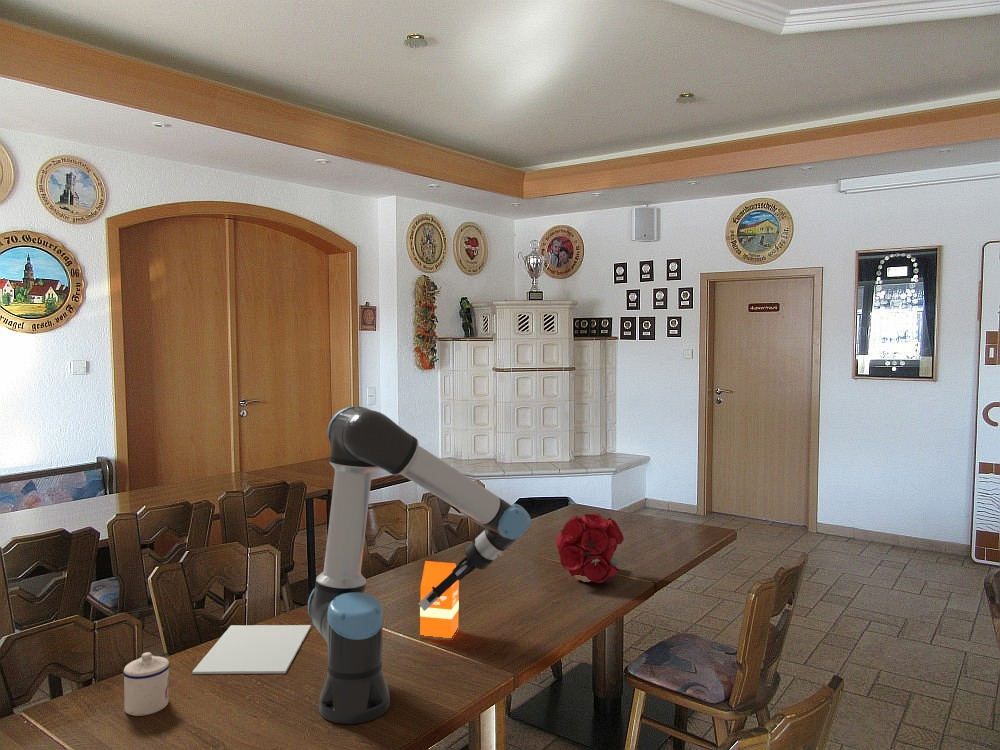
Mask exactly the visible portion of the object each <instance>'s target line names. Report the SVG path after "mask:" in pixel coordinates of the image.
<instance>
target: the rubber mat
mask: <svg viewBox="0 0 1000 750" xmlns="http://www.w3.org/2000/svg"><path fill="white" fill-rule="evenodd" d="M311 628H312V625H311V624H297V625H296V624H294V625H293V624H292V625H291V624H290V625H288V624H280V625H279V624H276V625H275V624H271V625H269V624H266V625H265V624H263V625H262V624H261V625H260V624H259V625H256V624H255V625H253V624H252V625H251V624H250V625H245V624H244V625H242V624H241V625H236V624H235V625H232V624H231V625H230V626H229V627H228V628H227V630H226V631H225V632H224V633H223V634H222V635H221V636H220V637H219V639H218V640H217V642H215V644H214V645H213V646H212V647H211V648H210V650H209V651H208V652H207V654H205V656H204V657H203V658H202V659H201V660H200V662H199V663H198V664H197V665H196V666H195V668H194V669H193V670H192V672H191V674H192V675H229V674H230V675H233V674H234V675H236V674H237V675H242V674H243V675H244V674H245V675H246V674H247V675H249V674H250V675H251V674H253V675H254V674H255V675H259V674H260V675H261V674H264V675H265V674H267V675H269V674H281V675H282V674H286V673H287V672H288V670H289V668H290V666H291V664H292V662H293V661H294V659H295V656H296V655H297V653H298V652H299V649H300V648H301V646H302V645H303V643H302V642H304V641H305V639H306V637H307V635H308V633H309V632H310V629H311Z"/></svg>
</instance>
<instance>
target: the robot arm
mask: <svg viewBox="0 0 1000 750" xmlns="http://www.w3.org/2000/svg"><path fill="white" fill-rule="evenodd" d="M329 421H330V422H329V423H328V426H327V436H328V437H327V438H328V441H329V444H330V446H331V447H330V452H329V453H330V454H329V464H330V465H331V466H332V468H333V469H334V477H333V485H332V492H331V493H332V494H331V502H330V503H331V504H330V512H329V523H328V529H327V536H326V537H327V539H326V545H325V547H326V548H325V556H324V564H323V565H324V566H323V571H322V572H320V573H319V574H318V575H317V576H316V578H315V587H314V588H313V589H312V591H311V593H310V595H309V597H308V600H307V612H308V616H309V619H310V622H311V623H312V625H313V627H315V629H316V631H317V632H319V634H320V635H321V637H322V638H323V640H324V641H325V643H326V644H327V674H326V678H325V681H324V684H323V687H322V691H321V693H320V697H319V704H318V705H319V706H318V709H319V714H320V716H321V717H323V718H324V719H325V720H327V721H330V722H332V723H336V724H340V725H354V724H355V725H356V724H362V723H366V722H367V723H368V722H370V721H373V720H376V719H378V718H380V717H382V715H384V714H385V713H387V711H388V710H389V708H390V706H391V705H390V703H391V700H390V699H391V696H390V695H391V694H390V689H389V688H388V684H387V681H386V678H385V676H384V675H385V674H384V672H383V625H384V614H383V606H382V603H381V602H380V600H379V599H377V598H376V597H375V596H374V595H372V594H366V586H367V580H366V578H365V577H364V576H363V574H362V573H361V572H362V564H363V554H364V546H365V538H366V536H365V535H366V527H367V519H368V511H369V501H370V494H371V493H370V492H371V487H372V486H371V485H372V475H373V473H374V472H375V471H376V470H378V469H382V470H384V471H386V472H387V473H389V474H390V475H392V476H400V475H401V476H403V477H404V478H406V479H408V480H409V481H411V482H413V483H414V484H416V485H418V486H420V487H421V488H422V489H424V490H426V491H427V492H430V493H431V494H432V495H434V496H436V497H437V498H439V499H441V500H443V501H444V502H445V503H447V504H449V505H450V506H452V507H454V508H455V509H457V510H458V511H459V513H460V514H462V515H463V516H465V517H466V519H469V520H471V521H472V522H474V523H476V524H477V525H478V526H480V527H482V528H484V529H483V531H482V532H481V533H480V534H479V535H477V537H475V539H473V540H472V541H471V542H470V543H469V544H468V545H467V546H466V547H465V549H464V553H465V557H464V558H463V559H462V560H461V561H460V562H459V563H458V564H457V566H456V567H455V568H454V569H453V570H452V573H451V574H450V575H449V576H448V577H447V578H445V579H444V580H443V581H442V582H441V583H440V584H439V585H438V586H437V587H434V586H433V587H432V589H433V590H432V591H431V592H430V593H429V594H428V595H427V596H426V597H424V598H423V599H422V600H421V601H419V602H418V606H419V608H420V607H421V608H422V609H423V610H424V611H425V610H427V609H428V608H429V607H430V606H431V605H432V604H433V603H434V602H435V601H436V600H437V599H439V598H440V597H441V596H442V594H443V593H444V592H445V591H446V590H447V589H449V588H450V587H451V586H452V585H453V584H454V583H455V582H456V581H457V580H459V581H461V580H462V579H464V577H466V576H468V575H469V574H470V573H472V572H473V571H474V570H475V569H478V570H485V569H486V568H487V567H488V566H490V564H492V563H493V561H494V560H496V559H497V558H498V557H503V555H504V551H506V550H507V549H508V548H509V547H510V546H512V545H513V544H514V543H515V542H516V541H517V540H518V539H519V538H521V537H522V536H523V535H524V534H525V532H527V530H528V529H530V527H531V525H532V519H531V518H532V517H531V516H530V514H529V513H528V511H527V510H526V509H525V507H523V506H522V505H520V504H517V503H512V504H510V503H509V502H507V501H506V500H504V499H502V498H500V497H499V496H498V495H496V494H495V493H493V492H492V491H490V490H488V489H487V488H485V487H484V486H482V485H481V484H479V482H477V481H474V480H473V479H471V478H470V477H469V476H467V475H466V474H464V473H462V472H461V471H459V470H457V469H456V468H454V467H453V466H451V465H450V464H448V463H446V461H444V460H442V459H441V458H439V457H438V456H436V455H434V454H432V453H431V452H429V451H428V450H426V448H423V447H422V446H420V444H419V440H418V439H417V438H416V437H415V436H413V435H411V434H410V432H407V431H406V430H405V429H403V428H402V427H401V426H399V425H398V424H397V423H396V422H395V421H393V420H392V419H391V418H390V417H388V416H387V415H386V414H384V413H382V412H380V411H376V410H372V409H370V408H368V407H362V406H348V407H344V408H342V409H340V410H339V411H338V412H336V413H335V414H334V415H332V418H331V420H329Z"/></svg>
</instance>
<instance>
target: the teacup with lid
mask: <svg viewBox="0 0 1000 750" xmlns="http://www.w3.org/2000/svg"><path fill="white" fill-rule="evenodd" d="M170 666H171V664H170V661H169V660H168V658H166V657H165V656H159V655H157V656H156V655H153V654H152V653H151V652H149V651H147V652H143V653H142V654H141V657H138V659H135V660H132V661H131V662H128V663H127V664H126V665H125V667H124V669H123V671H122V675H123V676H124V678H123V679H124V681H123V683H124V684H123V686H124V687H123V688H124V691H123V692H124V693H123V694H124V695H123V696H124V697H123V698H124V712H125V713H126V714H127V715H130V716H133V717H134V716H135V717H139V716H140V717H141V716H148V715H152V714H155V713H158V712H160V711H161V710H163V709H165V708H166V707H167V706H168V704H169V701H170V692H169V690H170V689H169V685H170V684H169V683H170V682H169V679H170V678H169V677H170V676H169V675H170V673H169V668H170Z"/></svg>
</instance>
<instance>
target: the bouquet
mask: <svg viewBox="0 0 1000 750" xmlns="http://www.w3.org/2000/svg"><path fill="white" fill-rule="evenodd" d="M624 539H625V537H624V535H623V533H622V531H621V528H620V527H619V525H618V523H617V521H616V520H613V518H612V517H608V519H605V518H604V517H602V515H601V514H599V513H585V514H584V515H583V516H579V515H573V516H572V517H570V519H568V521H567V522H566V523H565V524H564V526H563V527H562V529H561V530H560V532H559V533H558V535H557V536H556V538H555V541H556V547H557V552H558V555H559V559H560V561H559V562H560V564H561V566H562V567H563V569H564V570H566V571H568V573H569V574H570V575H571V576H572V577H573V576H574V575H581V576H586V577H587V578H588V579H589V580H591V582H592V583H594V582H598V583H597V584H599V583H601V584H602V583H604V582H605V581H607V580H608V579H609V577H610V578H612V577H613V576H615V575H616V574H617V575H618V573H619V572H620V569H619V568H618V566H619V560H618V558H617V557H616V556H615V555H614V553H615V552H616V550H617V548H618V545H621V544H623V541H624ZM596 560H598V561H596ZM617 565H618V566H617ZM616 566H617V567H616Z"/></svg>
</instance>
